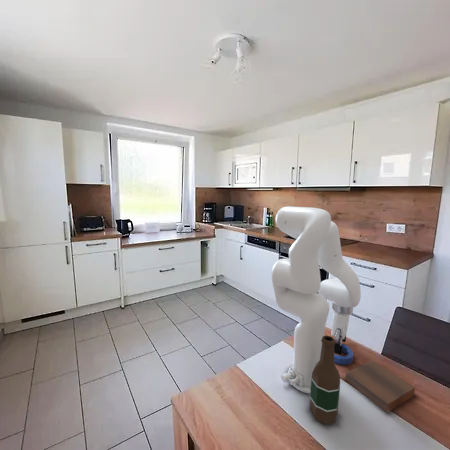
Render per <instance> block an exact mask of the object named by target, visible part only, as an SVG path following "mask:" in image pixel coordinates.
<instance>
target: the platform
mask: <svg viewBox="0 0 450 450" xmlns="http://www.w3.org/2000/svg"><path fill="white" fill-rule="evenodd" d="M345 381H346V382H347V383H348V384H349V385H351V386H352V387H353V388H355V389H356V390H357V391H359V392H360V393H361V394H362V395H364V396H365V397H366V398H367V399H368V400H369V401H371V402H372V403H373V404H375V405H376V406H377V407H379V409H381V410H382V411H384V412H385V413H386V414H388V413H390V412H391V411H392V410H395V409H396V408H397V407H399V406H401V405H402V404H404V403H405V402H407V401H408V400H411V399H412V398H413V397H414V396H415V392H416V391H415V390H416V387H414V386H413V385H412V384H411V383H408V382H407V381H405V380H404V379H403V378H401V377H399V376H398V375H396V374H395V373H393V372H391V371H390V370H388V369H387V368H385V367H384V366H382V365H380V364H379V363H378V362H376V361H374V360H372V359H371V360H370V361H366V363H365V362H364V363H362V364H361V365H359V366H357V367H354V368H353V369H350V370H348V371H346V372H345Z"/></svg>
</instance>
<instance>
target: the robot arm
mask: <svg viewBox="0 0 450 450" xmlns="http://www.w3.org/2000/svg"><path fill="white" fill-rule="evenodd" d="M275 223H276V227H277V228H278V229H279V231H281V232H282V233H284V234H286V235H288V236H289V237H291V238H292V239H295V240H294V242H293V243H292V244H291V246H289V250H288V258H279V259H278V260H277V261H276V262H275V263H274V265H273V266H272V268H271V269H272V270H271V283H272V288H273V291H274V298H275V302H276V305H277V306H278V308H279V309H280V310H282V311H284V312H286V313H288V314H290V315H292V316H295V317H296V318H299V319H300V322H298V324H297V325H295V327H294V330H293V353H292V365H291V366H290V367H289V368H288V370H287V373H283V374H281V375H280V377H281V380H282V382H283V383H284V382H287V381H289V383H290V385H292V386H293V387H294V388H295V389H296V390H298V391H300V392H301V393H305V394H309V395H311V378H312V372H313V370H314V367H315V365H316V363H317V362H318V361H320V355H321V348H322V341H321V340H322V337H323V336H325V333H326V331H325V330H326V325H327V320H328V316H329V312H330V303H329V301H330V302H332V303H331V311H332V312H333V314H332V315H333V316H332V324H331V331H330V332H331V333H330V336H331V337H333V338H334V339H335V342H336V343H335V345H334V354H336V355H338V356H343V355H342V354H343V351H342V344H343V343H346V341H347V333H348V329H349V321H350V316H352V315H353V312H354V308H355V307H358V305H359V304H360V301H361V297H362V293H361V284H360V278H359V277H358V275H357V273H356V272H355V270H354V269H353V267H351V266H350V265H349V264H348V263H347V262H346V261H345V259H344V258H343V251H342V245H341V238H340V231H339V227H338V225H337V223H335V222H334V221H332V216H331V214H330V212H328V211H327V210H326V209H323V208H318V207H309V206H308V207H307V206H291V205H290V206H289V205H288V206H283V207H281V208H280V209H279V210H278V211H277V213H276V215H275ZM320 268H321V269H322V270H324V271H325V272H327V273H329V274H330V275H331V276H333V277H334V278H327V279H324V280H322V279H321V270H320Z"/></svg>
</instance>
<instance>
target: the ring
mask: <svg viewBox="0 0 450 450" xmlns="http://www.w3.org/2000/svg"><path fill="white" fill-rule="evenodd" d="M342 353H344V354H346V355H339V354H336V353H334V362H335V364H337V365H340V366H341V365H342V366H344V365H345V366H348V365H350V364H352V363H353V361H354V351H353V350H352V349H351V347H350V346H348V345H346V344H345V343H342Z"/></svg>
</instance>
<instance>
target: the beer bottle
mask: <svg viewBox="0 0 450 450" xmlns="http://www.w3.org/2000/svg"><path fill="white" fill-rule="evenodd" d="M334 338H335V337H334V336H332V335H324V336H323V337H322V340H321V341H322V348H321V355H320V361H318V362H317V363H316V365H315V367H314V370H313V372H312V378H311V394H310V399H309V411H310V413H311V415H312V416H313V418H314V419H315V421H317V422H319V423H321V424H323V425H325V426H329V425H335V424H336V422H337V418H338V413H339V404H340V392H341V375H340V372H339V369H338V368H337V366H336V363H335V362H334V354H335V353H334V345H335V343H336V342H335V339H334Z"/></svg>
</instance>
